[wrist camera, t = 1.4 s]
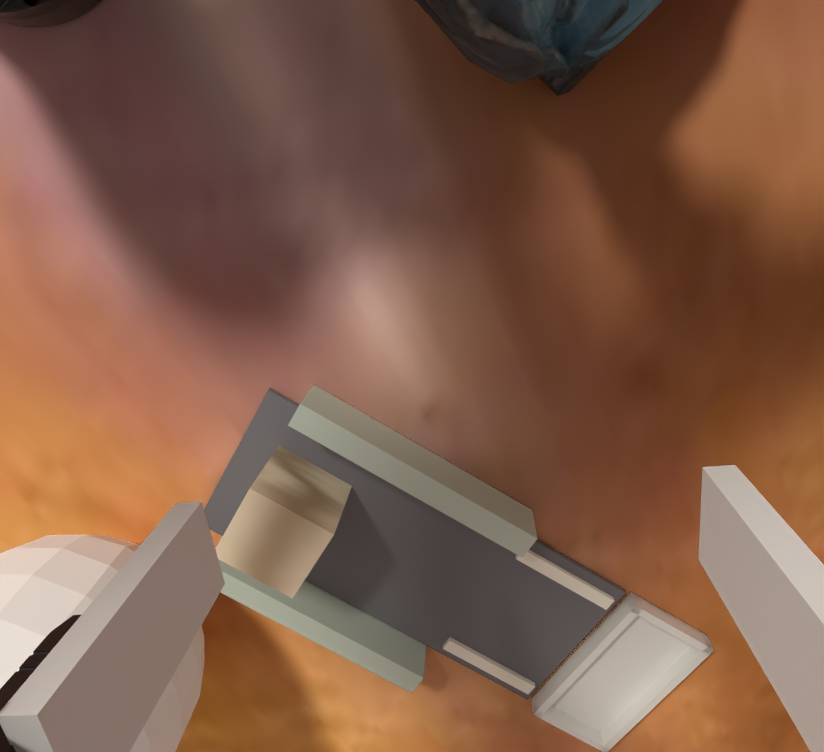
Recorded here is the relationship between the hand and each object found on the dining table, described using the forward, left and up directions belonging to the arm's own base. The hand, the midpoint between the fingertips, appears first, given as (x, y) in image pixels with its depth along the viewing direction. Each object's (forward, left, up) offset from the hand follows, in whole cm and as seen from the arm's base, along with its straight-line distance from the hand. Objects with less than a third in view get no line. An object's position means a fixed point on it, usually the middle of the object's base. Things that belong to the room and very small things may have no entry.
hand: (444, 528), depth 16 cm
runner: (+7, -18, -24) cm, 31 cm away
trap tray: (+26, -18, -24) cm, 39 cm away
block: (-3, -18, -24) cm, 30 cm away
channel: (+3, -18, -24) cm, 30 cm away
